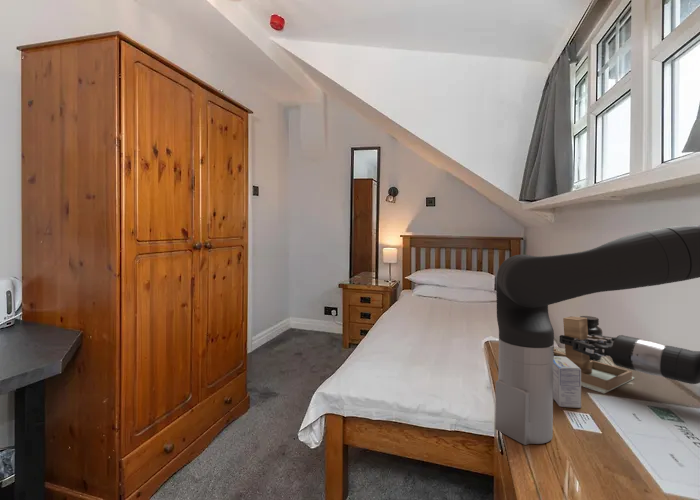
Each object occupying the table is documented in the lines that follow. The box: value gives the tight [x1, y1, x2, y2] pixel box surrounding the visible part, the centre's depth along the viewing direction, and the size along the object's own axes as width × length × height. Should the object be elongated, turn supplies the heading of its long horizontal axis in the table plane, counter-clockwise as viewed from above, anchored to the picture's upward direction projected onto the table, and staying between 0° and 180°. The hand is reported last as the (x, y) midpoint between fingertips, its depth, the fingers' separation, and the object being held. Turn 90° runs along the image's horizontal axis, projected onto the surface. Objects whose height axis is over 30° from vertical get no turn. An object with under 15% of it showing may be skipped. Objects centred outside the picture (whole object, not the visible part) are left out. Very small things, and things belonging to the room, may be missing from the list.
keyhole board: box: [554, 348, 636, 395], centre depth 93 cm, size 16×19×3 cm
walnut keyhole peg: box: [563, 316, 592, 374], centre depth 93 cm, size 6×6×14 cm
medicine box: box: [553, 356, 582, 409], centre depth 78 cm, size 8×4×9 cm, turn 168°
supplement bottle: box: [579, 315, 603, 361], centre depth 105 cm, size 7×7×12 cm
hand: (565, 337), depth 96 cm, fingers closed on walnut keyhole peg, 4 cm apart
